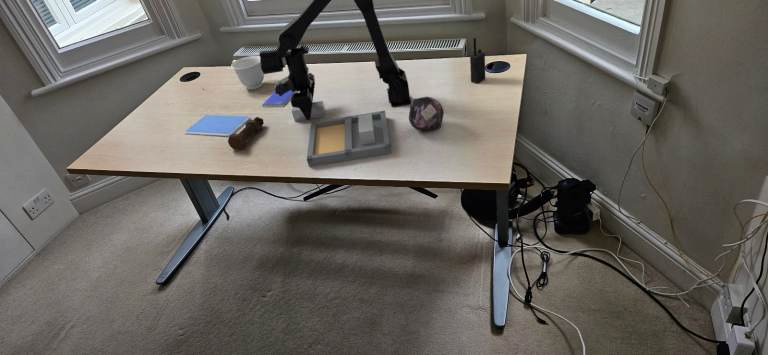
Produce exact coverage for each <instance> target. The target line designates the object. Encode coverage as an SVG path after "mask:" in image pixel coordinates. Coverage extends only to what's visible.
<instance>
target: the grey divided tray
mask: <svg viewBox="0 0 768 355" xmlns="http://www.w3.org/2000/svg"><path fill="white" fill-rule="evenodd" d="M308 138H309V139H308V145H307V153H306V161H307V165H308V167H316V166H322V165H326V164H327V165H328V164H333V163H340V162H345V161H352V160H358V159H364V158H372V157H378V156H384V155H390V154H392V149H391V142H390V136H389V128H388V123H387V117H386V110H381V111H374V112H367V113H362V114H361V113H360V114H354V115H349V116H343V117H338V118H337V117H336V118H331V119H325V120H317V121H312V122H311V123H310V130H309V137H308Z"/></svg>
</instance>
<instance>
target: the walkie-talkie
mask: <svg viewBox="0 0 768 355" xmlns="http://www.w3.org/2000/svg"><path fill="white" fill-rule="evenodd" d="M469 61H470V62H469V64H470V82H471V83H473V84H480V83H482V82H483V81H485V80H486V53H485V52H483V51H482V49H481V48H478V51H477V38H476V37H473V53H472V54H471V55H470V56H469Z"/></svg>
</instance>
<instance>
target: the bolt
mask: <svg viewBox="0 0 768 355" xmlns="http://www.w3.org/2000/svg"><path fill="white" fill-rule="evenodd" d="M264 123H265V122H264V118H261V117H259V116H256V117H255V118H254V119H250V120H248V121H247V122H246V123H245V125H244V126H245V127H244V128H242V130H241V131H239V132H238V133H234V134H231V135H230V136H229V137H228V138H227V143H228V145H229V147H230V148H231V149H232V150H234V151H243V150H244V149H245V148H246V145H247V141H248V140H249V139H250V138H251V137H252V136H253V135H258V134H259V133H260V131H261V128H262V126H263V125H264Z"/></svg>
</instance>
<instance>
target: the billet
mask: <svg viewBox="0 0 768 355" xmlns="http://www.w3.org/2000/svg"><path fill="white" fill-rule="evenodd" d="M291 114H292V117H293V121H294V122H299V121H308V120H307V119H306V118H305V116H304V115H303V113H302V111H301V110H300V109H299V108H295V107H292V108H291ZM325 117H326V109H325V104H324V100H319V101H313V103H312V110H311V118H310V120H313V119H319V118H325Z"/></svg>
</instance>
